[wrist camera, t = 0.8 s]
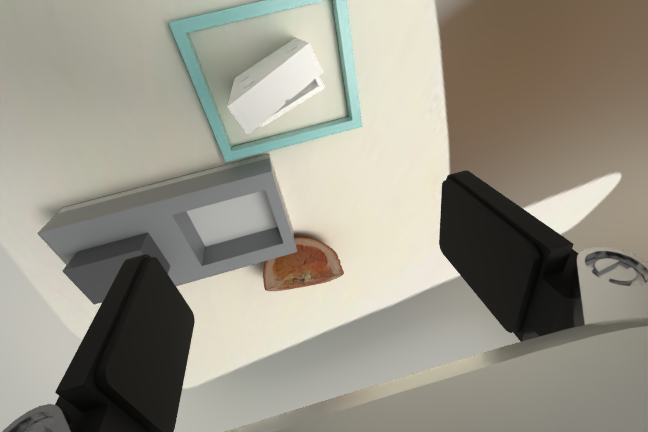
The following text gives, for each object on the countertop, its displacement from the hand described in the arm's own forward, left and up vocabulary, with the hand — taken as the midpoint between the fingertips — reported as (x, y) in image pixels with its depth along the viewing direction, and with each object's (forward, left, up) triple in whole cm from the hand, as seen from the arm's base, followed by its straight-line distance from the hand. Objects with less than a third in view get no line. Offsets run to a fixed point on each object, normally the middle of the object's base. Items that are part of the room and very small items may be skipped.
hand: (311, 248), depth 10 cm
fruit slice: (+17, -2, -20) cm, 26 cm away
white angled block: (-2, +1, -20) cm, 20 cm away
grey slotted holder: (+8, -11, -20) cm, 24 cm away
